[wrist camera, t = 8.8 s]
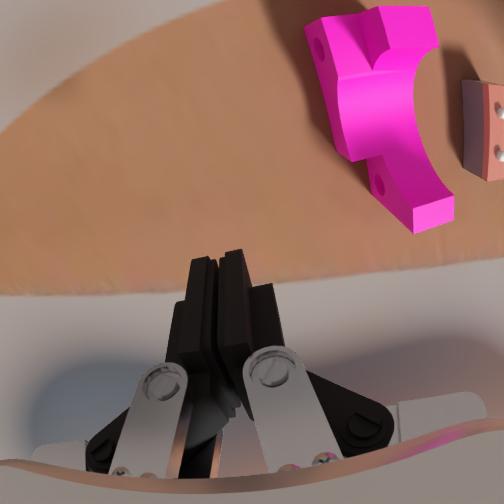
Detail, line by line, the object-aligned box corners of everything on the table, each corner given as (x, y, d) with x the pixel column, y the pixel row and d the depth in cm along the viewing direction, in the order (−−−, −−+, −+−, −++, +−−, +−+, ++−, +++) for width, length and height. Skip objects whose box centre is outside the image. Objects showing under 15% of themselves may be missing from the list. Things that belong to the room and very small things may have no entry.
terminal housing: (481, 80, 20) (512, 87, 16) (481, 165, 25) (509, 180, 21) (460, 79, 20) (493, 85, 16) (462, 167, 25) (491, 184, 21)
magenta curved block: (302, 27, 18) (337, 8, 12) (375, 19, 18) (429, 6, 11) (345, 201, 26) (382, 244, 20) (405, 183, 26) (453, 220, 19)
